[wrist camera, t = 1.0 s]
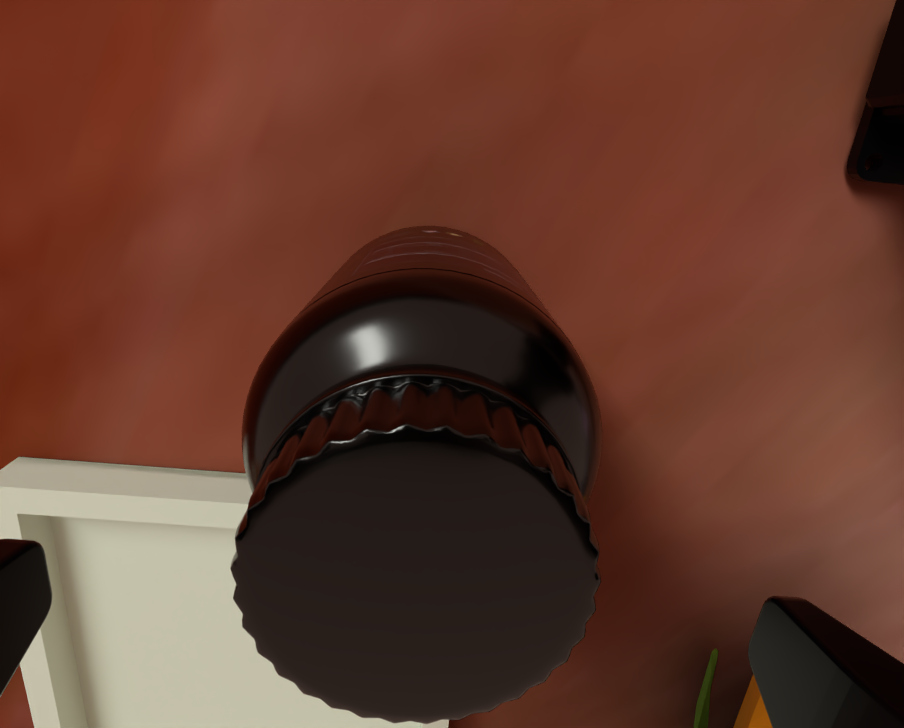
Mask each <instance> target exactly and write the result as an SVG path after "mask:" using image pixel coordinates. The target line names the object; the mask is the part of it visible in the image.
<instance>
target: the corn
mask: <svg viewBox="0 0 904 728" xmlns="http://www.w3.org/2000/svg"><path fill="white" fill-rule="evenodd" d="M717 656H718V650H717V649H716V648H715V649H714V650H713V651H712V653H711V656H710V660H709V663H708V667H707V670H706V673H705V677H704V680H703V683H702V687H701V690H700V694H699V697H698V700H697V704H696V712H695V719H694V726H693V728H708V718H709V704H710V690H711V684H712V680H713V675H714V671H715V666H716V662H717ZM733 728H772V725H771V722H770V719H769V716H768V714H767V711H766V708H765V705H764V702H763V700H762V697H761V694H760V691H759V688H758V686H757V683H756V680H755V677H754V674H753V676H752V678H751V681H750V684H749V687H748V689H747V692H746V695H745V697H744V700H743V703H742V705H741V708H740V711H739V713H738V716H737V719H736V721H735V724H734V727H733Z"/></svg>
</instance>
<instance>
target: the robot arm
mask: <svg viewBox="0 0 904 728" xmlns="http://www.w3.org/2000/svg"><path fill="white" fill-rule="evenodd" d="M866 99H867V102H866V105H865V108H864V111H863V115H862V118H861V121H860V124H859V127H858V130H857V133H856V137H855V140H854V143H853V146H852V149H851V152H850V155H849V159H848V163H847V170H848V174H849V175H850V176H851V177H852V178H853V179H856V180H861V181H871V182H881V183H890V184H900V185H904V0H896V3H895V6H894V9H893V12H892V15H891V19H890V22H889V25H888V28H887V31H886V34H885V38H884V41H883V44H882V47H881V50H880V53H879V57H878V60H877V63H876V66H875V69H874V72H873V75H872V79H871V82H870V85H869V88H868V91H867V94H866ZM870 155H872V157H873V164H872V165H871V167H870V168H869V169H868V170H866V168H865V161H866V160H867V158H868V157H869V156H870ZM51 603H52V588H51V583H50V578H49V572H48V567H47V562H46V556H45V551H44V548H43V547H42V545H41V544H40V543H39V542H36V541H33V540H21V539H0V697H1V695H2V693H3V692H4V690H5V688H6V686H7V685H8V683H9V681H10V679H11V678H12V676H13V674H14V673H15V671H16V669H17V667H18V666H19V664H20V662H21V660H22V659H23V657H24V655H25V654H26V652H27V650H28V648H29V647H30V645H31V643H32V641H33V640H34V638H35V636H36V635H37V633H38V631H39V629H40V628H41V626H42V624H43V622H44V621H45V619H46V617H47V615H48V613H49V610H50V608H51ZM748 656H749V662H750V666H751V669H752V672H753V674H754V677H755V680H756V683H757V686H758V688H759V691H760V694H761V697H762V700H763V702H764V705H765V708H766V711H767V714H768V716H769V719H770V722H771V725H772V728H904V664H903V663H902V662H900V661H899V660H897V659H896V658H894V657H892V656H891V655H889V654H888V653H886V652H885V651H883V650H882V649H880V648H879V647H877V646H876V645H874V644H873V643H871V642H870V641H868V640H867V639H865V638H864V637H862V636H861V635H859V634H857V633H856V632H854V631H853V630H851V629H850V628H848V627H847V626H845V625H844V624H842V623H841V622H839V621H838V620H836V619H835V618H833V617H832V616H830V615H829V614H827V613H826V612H824V611H822V610H821V609H819V608H818V607H816V606H815V605H813V604H812V603H810V602H809V601H807V600H805V599H802V598H797V597H783V596H772V597H769V598H768V599H767V600H766V601H765V602H764V604H763V607H762V609H761V612H760V615H759V617H758V620H757V623H756V626H755V628H754V631H753V634H752V636H751V639H750V642H749V648H748Z"/></svg>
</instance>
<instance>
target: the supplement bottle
mask: <svg viewBox="0 0 904 728" xmlns="http://www.w3.org/2000/svg"><path fill="white" fill-rule="evenodd" d="M242 452H243V460H244V467H245V471H246V475H247V479H248V483H249V486H250V489H251V492H252V495H251V497H250V500H249V503H248V509H247V510H246V512H245V514H244V516H243V518H242V520H241V521H240V523H239V525H238V527H237V530H236V534H235V545H236V552H235V554H234V556H233V559H232V562H231V568H230V569H231V572H232V575H233V578H234V580H235V582H236V586H235V590H234V595H233V600H234V601H235V603H236V605H237V606H238V608H239V609H240V610H241V612H242V613H243V616H242V627H243V628H244V629H245V630H246V632H247V633H248V634H249V635H250V636H251V637H252V638H254V640H255V643H256V649H257V652H258V653H259V654H260V655H261V656H263V657H264V658H266V659H267V660H269V661H270V662H272V664H273V666H274V668H275V670H276V672H277V674H278V675H279V676H281V677H283V678H285V679H287V680H289V681H291V682H294V683H295V685H296V686H297V687H298V688H299V690H300V691H301V692H302V693H303V694H306V695H309V696H312V697H316V698H319V699H321V700H322V701H324V702H325V703H326V704H327V705H328V706H330V707H331V708H334V709H341V710H348V711H350V712H352V713H354V714H355V715H357V716H359V717H361V718H380V719H383V720H386V721H389V722H392V723H401V722H408V721H413V722H418V723H423V724H429V723H432V722H436V721H439V720H442V719H443V720H460V719H463V718H465V717H467V716H469V715H471V714H473V713H482V712H490V711H492V710H493V709H495V708H496V707H497V706H499V705H500V704H501V703H504V702H507V701H512V700H516V699H519V698H520V697H521V696H522V695H523V694H524V693H525V692H526V691H527V690H528V689H529V688H531V687H533V686H536V685H539V684H541V683H543V682H545V681H546V679H547V678H548V677H549V675H550V673H551V672H552V670H553V669H555V668H557V667H558V666H561V665H562V664H564V663H565V662H567V660H568V658H569V656H570V653H571V650H572V648H573V647H574V646H575V645H577V644H578V643H579V642H580V641H581V640H582V639H583V638H584V637H585V631H586V629H585V624H586V623H587V621H588V620H589V619H590V618H591V616H592V615H593V614H594V612H595V611H596V605H595V597H594V595H595V593H596V591H597V590H598V587H599V585H600V583H601V575H600V571H599V568H598V565H597V561H598V557H599V544H598V540H597V538H596V535H595V533H594V531H593V528H592V526H591V521H590V514H589V511H588V508H587V504H588V502H589V499H590V497H591V495H592V492H593V489H594V486H595V483H596V479H597V475H598V471H599V466H600V461H601V452H602V425H601V415H600V410H599V405H598V400H597V396H596V393H595V390H594V387H593V384H592V382H591V379H590V377H589V375H588V373H587V371H586V369H585V366H584V364H583V362H582V361H581V359H580V357H579V355H578V354H577V352H576V350H575V349H574V347H573V345H572V344H571V342H570V341H569V339H568V338H567V337H566V335H565V334H564V333H563V331H562V330H561V329H560V327H559V326H558V325H557V323H556V322H555V321H554V319H553V318H552V317H551V315H550V314H549V312H548V311H547V310H546V308H545V307H544V306H543V304H542V303H541V302H540V300H539V299H538V298H537V296H536V295H535V294H534V292H533V291H532V290H531V288H530V287H529V286H528V284H527V283H526V281H525V280H524V279H523V277H522V276H521V275H520V274H519V272H518V271H517V270H516V268H515V267H514V266H513V265H512V264H511V263H510V262H509V261H508V260H507V259H506V258H505V257H504V256H503V255H502V254H501V253H500V252H499V251H498V250H496V249H495V248H494V247H492V246H491V245H489V244H488V243H486V242H484V241H483V240H481V239H479V238H477V237H475V236H473V235H470V234H468V233H465V232H462V231H459V230H456V229H451V228H447V227H439V226H416V227H409V228H404V229H400V230H396V231H393V232H390V233H387V234H385V235H383V236H380V237H378V238H376V239H375V240H373V241H371V242H369V243H368V244H366V245H365V246H363V247H362V248H360V249H359V250H358V251H357V252H356V253H355V254H353V255H352V256H351V257H350V258H349V259H348V260H347V261H346V262H345V263H344V264H343V265H342V266H341V268H340V269H339V270H338V271H337V272H336V273H335V274H334V275H333V276H332V277H331V279H330V280H329V281H328V282H327V283H326V284H325V285H324V286H323V287H322V288H321V290H320V291H319V292H318V293H317V294H316V295H315V296H314V297H313V298H312V300H311V301H310V302H309V303H308V304H307V305H306V306H305V307H304V308H303V309H302V311H301V312H300V313H299V314H298V315H297V316H296V317H295V318H294V319H293V321H292V322H291V323H290V324H289V325H288V326H287V327H286V328H285V330H284V331H283V332H282V333H281V335H280V336H279V337H278V338H277V340H276V341H275V342H274V344H273V345H272V346H271V348H270V349H269V351H268V353H267V354H266V356H265V358H264V359H263V361H262V362H261V364H260V366H259V368H258V370H257V372H256V374H255V377H254V379H253V381H252V384H251V387H250V390H249V393H248V396H247V400H246V405H245V409H244V415H243V424H242Z"/></svg>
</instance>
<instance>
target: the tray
mask: <svg viewBox="0 0 904 728" xmlns="http://www.w3.org/2000/svg"><path fill="white" fill-rule="evenodd" d="M251 495H252V492H251V489H250V486H249V483H248V479H247V475H246V474H244V473H231V472H217V471H204V470H190V469H177V468H163V467H149V466H136V465H122V464H109V463H95V462H82V461H68V460H55V459H41V458H27V457H18V458H17V459H15V460H14V461H12V462H11V463H10V464H8V465H7V466H5V467H4V468H3V469H1V470H0V539H21V540H33V541H36V542H39V543H40V544H41V545H42V547H43V548H44V551H45V556H46V562H47V567H48V572H49V578H50V583H51V588H52V603H51V608H50V610H49V613H48V615H47V617H46V619H45V621H44V622H43V624H42V626H41V628H40V629H39V631H38V633H37V635H36V636H35V638H34V640H33V641H32V643H31V645H30V647H29V648H28V650H27V652H26V654H25V655H24V657H23V659H22V660H21V662H20V666H21V671H22V675H23V680H24V684H25V688H26V693H27V697H28V702H29V706H30V710H31V715H32V719H33V723H34V728H448V724H449V720H443V719H442V720H439V721H436V722H432V723H429V724H423V723H418V722H413V721H408V722H401V723H392V722H389V721H386V720H383V719H380V718H361V717H359V716H357V715H355V714H354V713H352V712H350V711H348V710H341V709H334V708H331V707H330V706H328V705H327V704H326V703H325V702H324V701H322V700H321V699H319V698H316V697H312V696H309V695H306V694H303V693H302V692H301V691H300V690H299V688H298V687H297V686H296V685H295V683H294V682H291V681H289V680H287V679H285V678H283V677H281V676H279V675H278V674H277V672H276V670H275V668H274V666H273V664H272V662H270V661H269V660H267V659H266V658H264V657H263V656H261V655H260V654H259V653H258V652H257V649H256V643H255V640H254V638H252V637H251V636H250V635H249V634H248V633H247V632H246V630H245V629H244V628H243V627H242V616H243V613H242V612H241V610H240V609H239V608H238V606H237V605H236V603H235V601H234V600H233V595H234V590H235V586H236V582H235V580H234V578H233V575H232V572H231V569H230V568H231V562H232V559H233V556H234V554H235V552H236V545H235V534H236V530H237V527H238V525H239V523H240V521H241V520H242V518H243V516H244V514H245V512H246V510H247V509H248V503H249V500H250V497H251Z"/></svg>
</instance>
